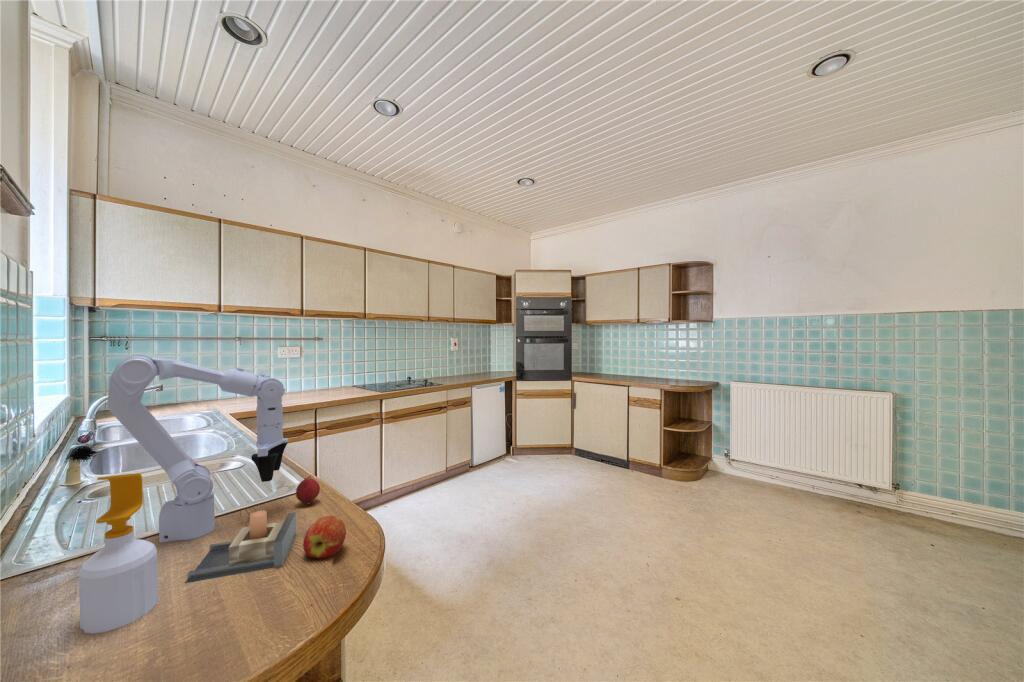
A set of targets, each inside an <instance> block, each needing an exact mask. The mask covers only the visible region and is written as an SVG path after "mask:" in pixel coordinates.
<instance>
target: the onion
mask: <svg viewBox="0 0 1024 682" xmlns="http://www.w3.org/2000/svg"><path fill="white" fill-rule="evenodd" d="M320 488H321V486H320V484H319V482H318V481H316V479H314V478H312V475H310V474H308V475H306V476H305V478H304V479H303V480H301V481H300V483H298V485H297V487H296V489H295V497H296V499H297V500H298V501H299V502H301V503H303V504H306V505H309V504H308V503H310V504H312V502H313V501H314V500H316V499H317V497H319V496H318V495H319V494H320V491H321V489H320Z"/></svg>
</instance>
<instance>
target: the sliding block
mask: <svg viewBox="0 0 1024 682" xmlns="http://www.w3.org/2000/svg"><path fill="white" fill-rule="evenodd" d="M283 523H284V521H279V522H272V523H267V537H266V538H260V539H253V540H250V526H244V527H241V529H240V530H239V532H238V534H236V536H235V537H234V539H233V542H232V543H231V545H230V546H229V565H230V564H236V563H242V562H248V561H254V560H260V559H266V558H272V557H274V545H273V543H274V541H275V539H276V537H277V535H278V533H279V531H280V529H281V527H282V525H283Z"/></svg>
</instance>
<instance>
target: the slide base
mask: <svg viewBox="0 0 1024 682" xmlns="http://www.w3.org/2000/svg"><path fill="white" fill-rule="evenodd" d="M283 522H284V523H283V525H282V527H281V529H280V531H279V533H278V535H277V537H276V539H275V541H274V543H273V545H274V557H272V558H266V559H260V560H254V561H248V562H242V563H236V564H230V565H229V546H230V545H231V543H232V542H233V541H225V542H219V543H212V544H209V548H208V549H209V551H208V552H207V554H206V555H205V556H204V557H203V559H202V560H201V561H200V562H199V564H198V565H197V566H196V568H195V569H194V570H189V571H188V573H187V579H186V581H185V582H184V584H188V583H189V584H190V583H195V582H200V581H206V580H213V579H218V578H223V577H228V576H235V575H241V574H245V573H252V572H257V571H264V570H269V569H276V568H280V567H284V564H285V561H286V559H287V557H288V554H289V552H290V549H291V547H292V545H293V541H294V539H295V538H296V535H297V513H296V512H289V513H287V515H286V518H285V519H284V521H283Z"/></svg>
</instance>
